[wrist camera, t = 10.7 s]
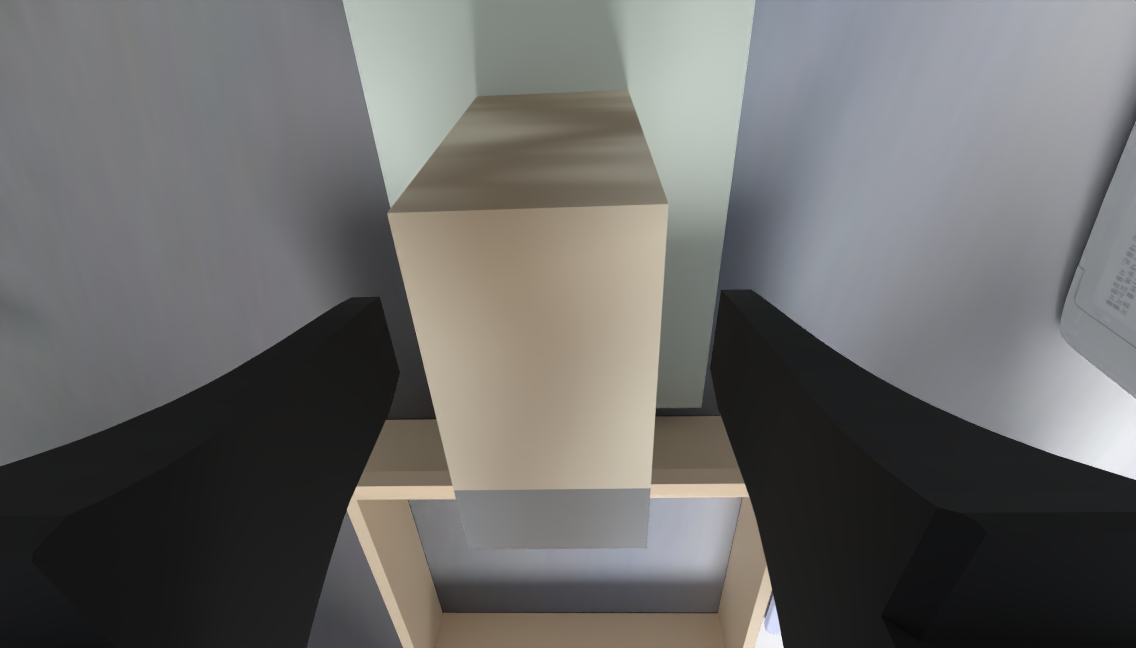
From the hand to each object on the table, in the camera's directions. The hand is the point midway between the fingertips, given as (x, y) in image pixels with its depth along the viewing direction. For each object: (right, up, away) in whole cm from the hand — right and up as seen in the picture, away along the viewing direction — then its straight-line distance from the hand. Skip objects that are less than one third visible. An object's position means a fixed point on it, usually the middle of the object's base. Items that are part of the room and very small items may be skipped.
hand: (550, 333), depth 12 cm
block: (0, +3, +5) cm, 6 cm away
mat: (0, +4, +5) cm, 6 cm away
